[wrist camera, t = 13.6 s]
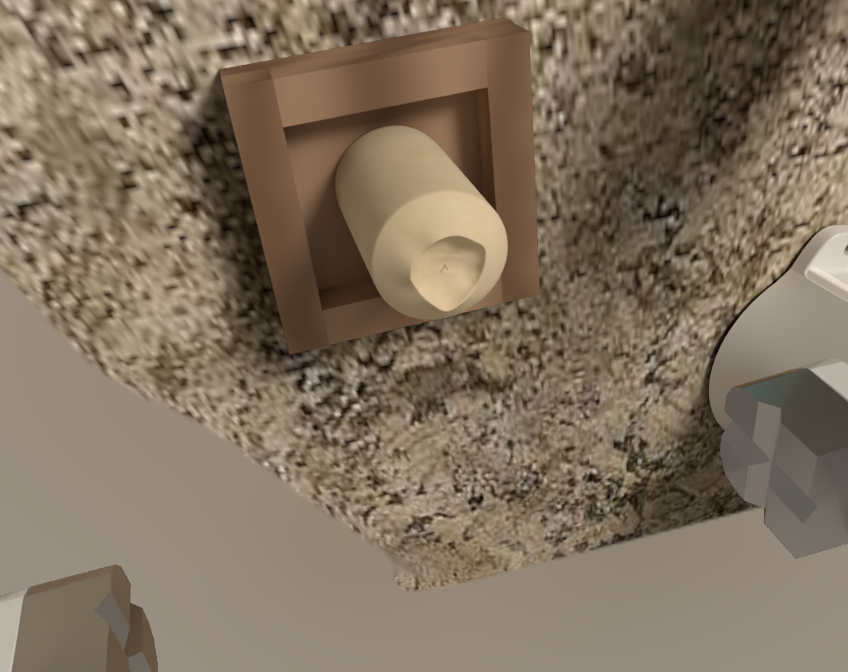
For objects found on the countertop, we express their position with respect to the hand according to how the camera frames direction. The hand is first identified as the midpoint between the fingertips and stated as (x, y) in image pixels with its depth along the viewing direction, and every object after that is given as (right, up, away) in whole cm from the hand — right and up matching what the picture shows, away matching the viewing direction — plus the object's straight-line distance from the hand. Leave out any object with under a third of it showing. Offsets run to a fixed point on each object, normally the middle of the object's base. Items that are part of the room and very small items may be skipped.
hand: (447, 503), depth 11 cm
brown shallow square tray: (-2, +10, +29) cm, 31 cm away
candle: (-2, +10, +28) cm, 30 cm away
